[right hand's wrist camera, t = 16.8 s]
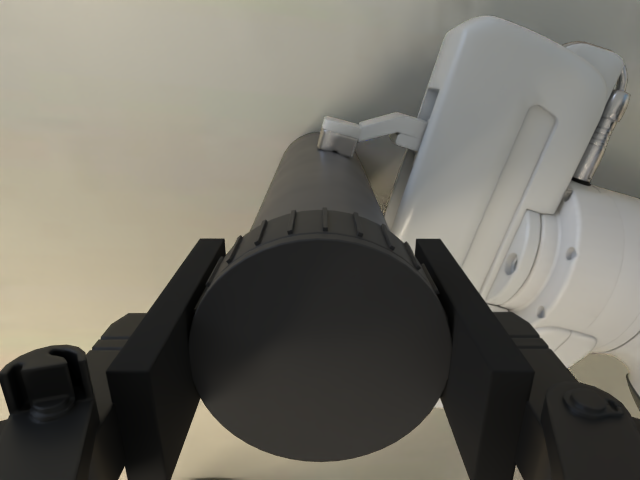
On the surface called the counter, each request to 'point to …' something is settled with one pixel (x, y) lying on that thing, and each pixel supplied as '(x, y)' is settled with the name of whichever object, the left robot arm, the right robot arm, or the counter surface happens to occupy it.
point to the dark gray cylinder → (318, 184)
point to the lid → (320, 338)
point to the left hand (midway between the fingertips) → (303, 195)
